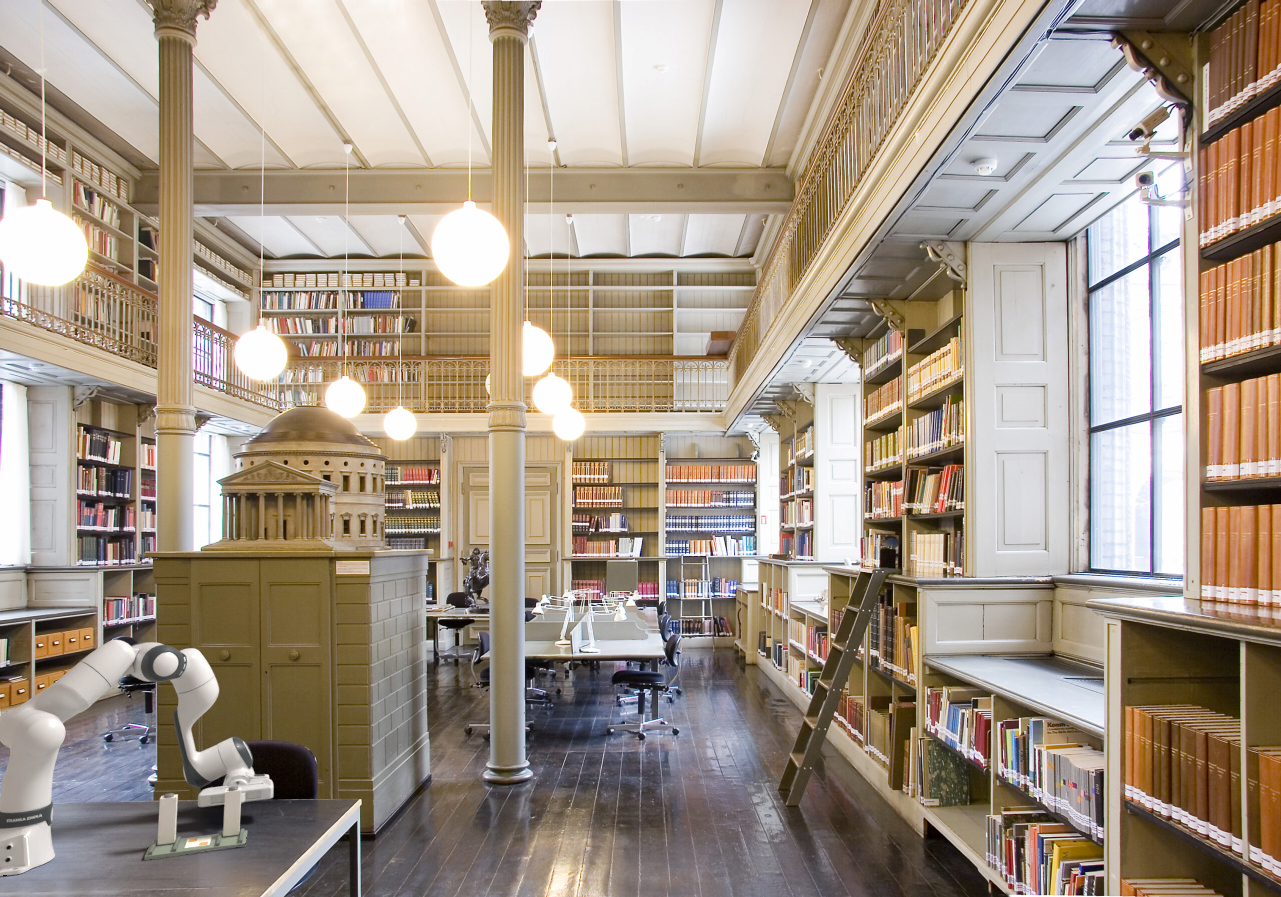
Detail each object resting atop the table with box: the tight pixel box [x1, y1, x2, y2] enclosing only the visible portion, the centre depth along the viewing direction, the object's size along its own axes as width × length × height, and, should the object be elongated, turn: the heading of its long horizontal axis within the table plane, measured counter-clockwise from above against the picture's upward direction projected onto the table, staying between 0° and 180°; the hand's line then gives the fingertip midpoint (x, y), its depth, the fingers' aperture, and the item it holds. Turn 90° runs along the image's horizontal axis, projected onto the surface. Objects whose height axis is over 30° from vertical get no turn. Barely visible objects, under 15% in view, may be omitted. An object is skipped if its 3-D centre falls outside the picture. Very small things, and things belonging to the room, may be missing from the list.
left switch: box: [157, 792, 179, 845], centre depth 230 cm, size 3×4×13 cm
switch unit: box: [144, 827, 249, 861], centre depth 229 cm, size 11×24×2 cm, turn 112°
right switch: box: [222, 786, 242, 837], centre depth 236 cm, size 3×4×13 cm
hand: (235, 801), depth 242 cm, fingers closed
